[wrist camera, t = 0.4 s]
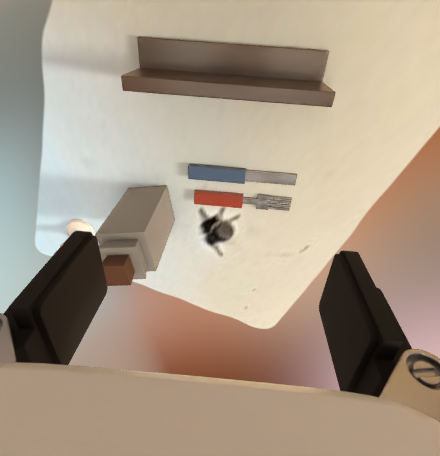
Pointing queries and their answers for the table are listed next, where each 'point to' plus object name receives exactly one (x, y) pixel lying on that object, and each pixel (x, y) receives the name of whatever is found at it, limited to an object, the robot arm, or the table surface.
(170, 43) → the shelf
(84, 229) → the chess piece
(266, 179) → the knife
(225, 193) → the fork
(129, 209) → the perfume bottle
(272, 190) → the table surface
